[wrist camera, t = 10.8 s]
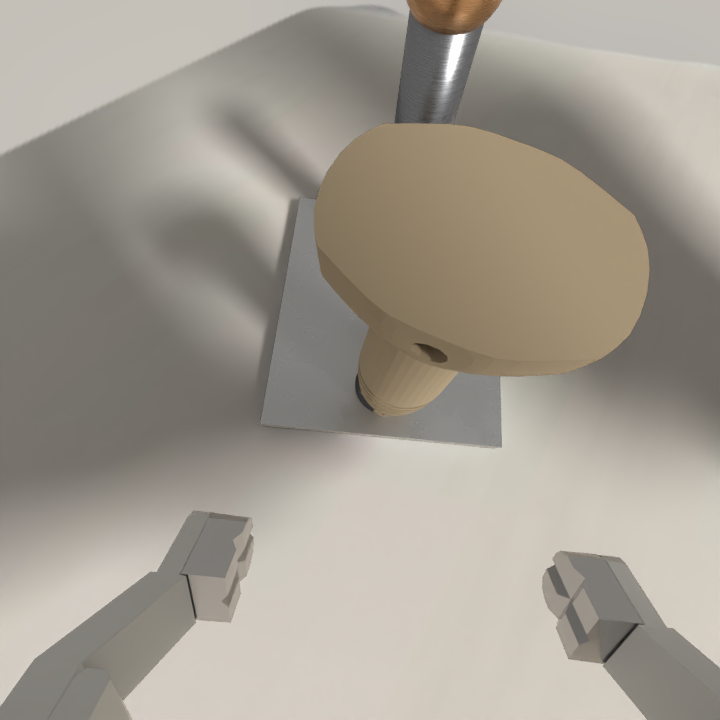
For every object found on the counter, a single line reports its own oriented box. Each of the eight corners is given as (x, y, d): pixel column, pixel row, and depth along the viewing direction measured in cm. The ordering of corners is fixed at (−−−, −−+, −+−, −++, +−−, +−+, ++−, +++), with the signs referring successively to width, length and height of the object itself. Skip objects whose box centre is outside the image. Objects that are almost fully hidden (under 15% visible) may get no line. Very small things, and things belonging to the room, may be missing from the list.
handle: (355, 336, 22) (374, 90, 8) (451, 376, 21) (666, 194, 7) (322, 406, 21) (270, 268, 6) (424, 451, 20) (622, 413, 6)
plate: (489, 228, 26) (495, 216, 25) (493, 448, 22) (502, 447, 20) (301, 209, 26) (299, 196, 25) (264, 426, 21) (259, 423, 20)
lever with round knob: (418, 238, 24) (539, -155, 9) (416, 279, 23) (548, -82, 8) (372, 233, 24) (415, -168, 9) (368, 274, 23) (409, -98, 8)
